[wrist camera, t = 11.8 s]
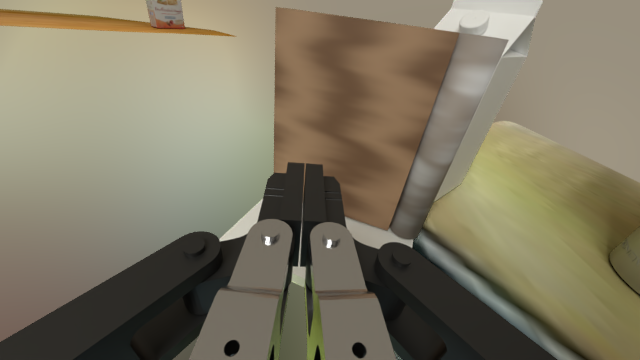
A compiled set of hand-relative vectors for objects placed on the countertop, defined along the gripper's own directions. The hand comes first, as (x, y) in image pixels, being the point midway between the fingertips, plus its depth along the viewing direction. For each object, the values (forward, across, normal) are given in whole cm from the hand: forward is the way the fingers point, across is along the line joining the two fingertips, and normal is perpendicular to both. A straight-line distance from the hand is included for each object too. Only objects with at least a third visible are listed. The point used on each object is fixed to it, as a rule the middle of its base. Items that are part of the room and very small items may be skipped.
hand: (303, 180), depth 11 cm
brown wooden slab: (+9, -4, +9) cm, 13 cm away
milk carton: (+17, -15, +11) cm, 25 cm away
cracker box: (+138, +69, +11) cm, 155 cm away
